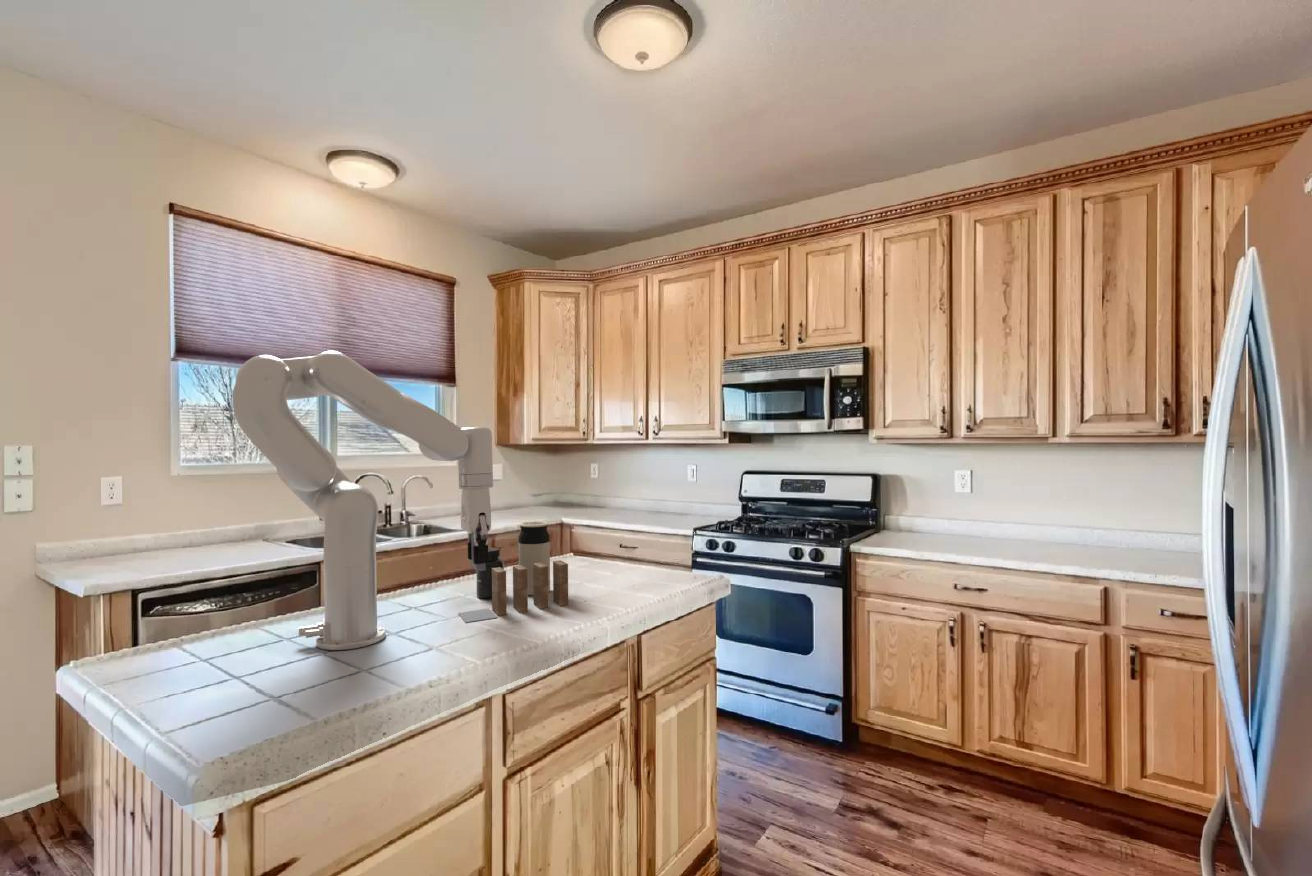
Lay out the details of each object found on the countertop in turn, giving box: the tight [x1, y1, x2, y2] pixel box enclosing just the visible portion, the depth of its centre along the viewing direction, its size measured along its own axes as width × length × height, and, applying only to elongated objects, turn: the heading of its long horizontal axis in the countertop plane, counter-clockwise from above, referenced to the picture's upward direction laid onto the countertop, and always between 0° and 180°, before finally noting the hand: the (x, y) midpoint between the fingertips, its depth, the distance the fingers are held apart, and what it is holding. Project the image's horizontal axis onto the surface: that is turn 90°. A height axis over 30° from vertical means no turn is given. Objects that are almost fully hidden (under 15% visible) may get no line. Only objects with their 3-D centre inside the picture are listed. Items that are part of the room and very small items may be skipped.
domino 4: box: [533, 563, 549, 610], centre depth 150 cm, size 2×5×10 cm, turn 29°
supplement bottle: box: [475, 547, 505, 600], centre depth 160 cm, size 7×7×12 cm
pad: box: [457, 608, 498, 624], centre depth 142 cm, size 7×8×1 cm
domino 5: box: [552, 559, 569, 608], centre depth 152 cm, size 2×5×10 cm, turn 29°
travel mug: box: [517, 520, 551, 596], centre depth 163 cm, size 8×8×18 cm
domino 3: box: [512, 564, 529, 614], centre depth 147 cm, size 2×5×10 cm, turn 29°
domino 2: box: [491, 567, 508, 617], centre depth 145 cm, size 2×5×10 cm, turn 29°
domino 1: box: [471, 529, 486, 571], centre depth 143 cm, size 2×5×10 cm, turn 29°
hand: (478, 560), depth 143 cm, fingers closed on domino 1, 4 cm apart
